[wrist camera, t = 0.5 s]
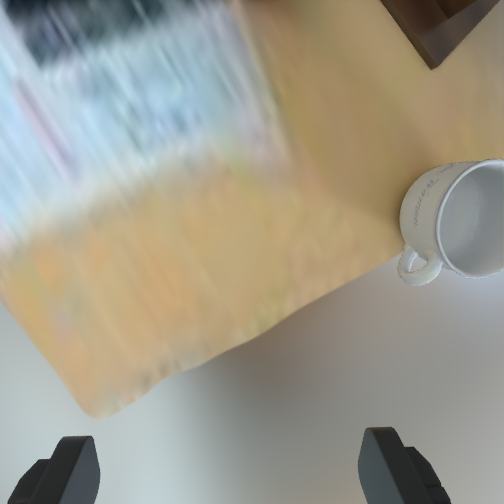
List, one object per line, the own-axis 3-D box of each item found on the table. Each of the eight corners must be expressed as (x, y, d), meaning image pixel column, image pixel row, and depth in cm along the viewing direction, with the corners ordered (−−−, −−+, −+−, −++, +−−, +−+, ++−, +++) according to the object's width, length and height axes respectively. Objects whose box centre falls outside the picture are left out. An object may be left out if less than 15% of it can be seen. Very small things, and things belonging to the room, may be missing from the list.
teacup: (451, 144, 37) (520, 134, 29) (486, 228, 40) (557, 239, 32) (345, 214, 36) (386, 222, 29) (387, 294, 39) (436, 321, 31)
